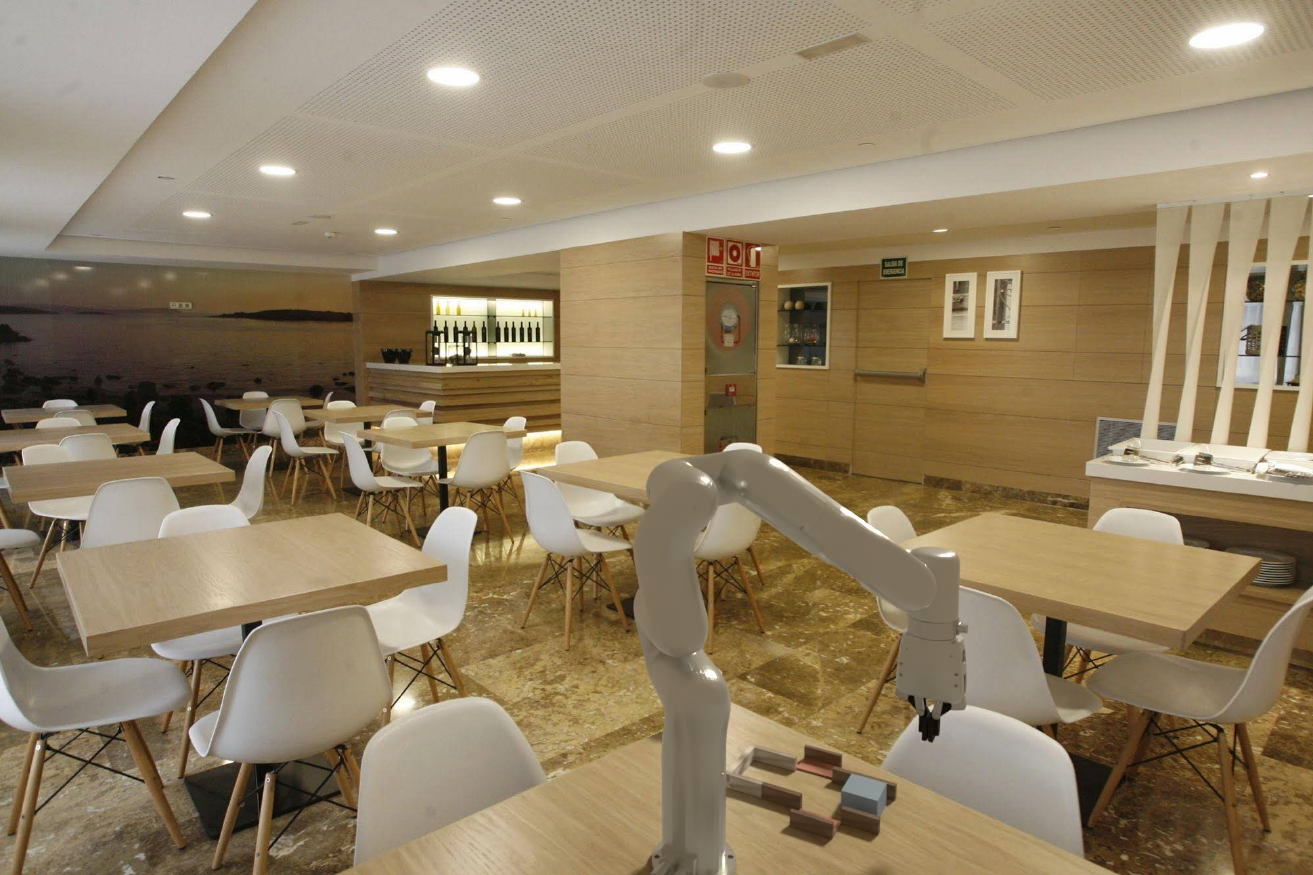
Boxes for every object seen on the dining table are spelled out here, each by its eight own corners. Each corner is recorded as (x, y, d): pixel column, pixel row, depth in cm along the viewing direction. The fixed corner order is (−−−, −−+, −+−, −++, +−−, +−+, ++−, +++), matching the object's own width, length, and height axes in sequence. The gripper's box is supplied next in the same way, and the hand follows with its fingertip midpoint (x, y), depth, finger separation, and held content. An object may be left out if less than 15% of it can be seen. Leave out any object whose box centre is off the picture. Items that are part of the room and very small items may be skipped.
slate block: (877, 824, 123) (877, 801, 123) (840, 813, 126) (841, 790, 126) (886, 805, 129) (886, 783, 128) (851, 795, 132) (851, 773, 131)
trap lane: (870, 851, 116) (870, 836, 116) (712, 800, 130) (712, 786, 130) (902, 783, 135) (903, 770, 134) (761, 745, 148) (761, 732, 148)
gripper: (987, 627, 118) (982, 739, 120) (889, 612, 126) (887, 717, 128) (980, 643, 112) (975, 761, 114) (878, 625, 120) (875, 736, 121)
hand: (928, 737), depth 121 cm, fingers closed
